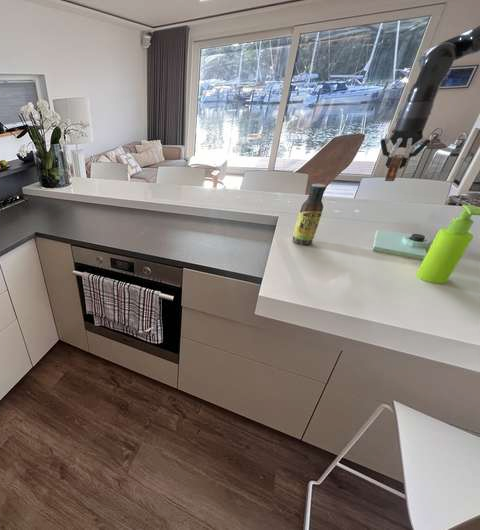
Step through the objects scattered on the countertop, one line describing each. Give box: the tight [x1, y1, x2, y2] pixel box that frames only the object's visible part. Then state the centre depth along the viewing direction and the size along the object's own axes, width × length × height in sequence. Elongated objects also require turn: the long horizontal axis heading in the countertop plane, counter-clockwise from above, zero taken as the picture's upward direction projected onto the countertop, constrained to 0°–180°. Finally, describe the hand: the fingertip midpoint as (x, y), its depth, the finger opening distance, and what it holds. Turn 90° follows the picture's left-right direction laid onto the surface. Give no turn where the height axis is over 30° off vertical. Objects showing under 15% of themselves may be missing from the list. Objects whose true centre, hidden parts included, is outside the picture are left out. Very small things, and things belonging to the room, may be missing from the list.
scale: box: [372, 228, 431, 261], centre depth 92 cm, size 12×16×3 cm
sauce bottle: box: [291, 183, 327, 245], centre depth 95 cm, size 6×6×20 cm
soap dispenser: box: [415, 204, 480, 285], centre depth 72 cm, size 6×7×20 cm
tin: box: [384, 153, 405, 182], centre depth 107 cm, size 15×3×8 cm, turn 137°
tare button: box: [410, 233, 426, 242], centre depth 89 cm, size 3×3×2 cm
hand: (394, 167), depth 107 cm, fingers closed on tin, 3 cm apart
